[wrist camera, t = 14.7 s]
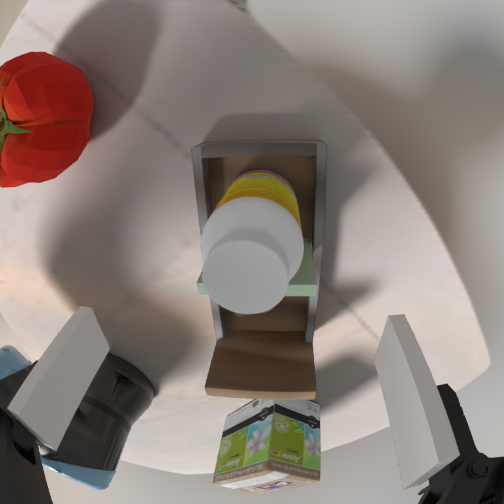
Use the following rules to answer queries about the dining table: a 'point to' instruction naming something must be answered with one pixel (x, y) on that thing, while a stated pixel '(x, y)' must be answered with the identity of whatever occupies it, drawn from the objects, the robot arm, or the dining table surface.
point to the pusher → (301, 281)
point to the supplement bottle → (252, 243)
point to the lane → (290, 307)
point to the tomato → (41, 118)
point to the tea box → (270, 446)
